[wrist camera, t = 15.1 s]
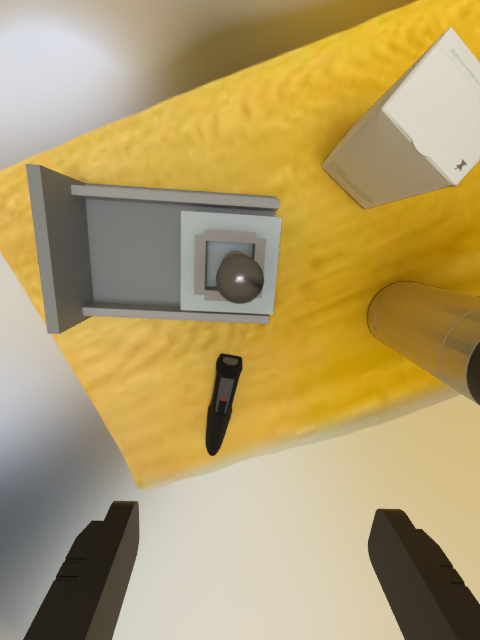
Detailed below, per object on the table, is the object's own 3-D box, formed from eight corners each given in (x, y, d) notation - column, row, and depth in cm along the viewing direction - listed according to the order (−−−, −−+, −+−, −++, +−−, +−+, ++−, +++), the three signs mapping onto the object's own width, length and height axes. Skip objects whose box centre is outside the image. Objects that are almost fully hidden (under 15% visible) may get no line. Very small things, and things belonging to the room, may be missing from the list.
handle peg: (251, 251, 29) (266, 257, 17) (249, 280, 29) (261, 305, 18) (221, 249, 28) (216, 254, 17) (220, 279, 29) (214, 302, 18)
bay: (274, 197, 35) (289, 183, 26) (264, 320, 39) (274, 342, 31) (78, 184, 34) (25, 164, 25) (89, 312, 38) (47, 333, 29)
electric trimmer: (200, 440, 45) (198, 455, 42) (218, 351, 41) (217, 361, 38) (223, 443, 45) (223, 458, 42) (243, 356, 41) (245, 365, 38)
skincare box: (400, 170, 35) (530, 114, 20) (362, 213, 36) (457, 192, 21) (353, 119, 33) (456, 17, 18) (315, 167, 34) (382, 107, 19)
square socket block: (272, 221, 35) (287, 214, 25) (265, 301, 37) (277, 321, 28) (190, 216, 34) (175, 206, 25) (189, 298, 37) (175, 316, 28)
